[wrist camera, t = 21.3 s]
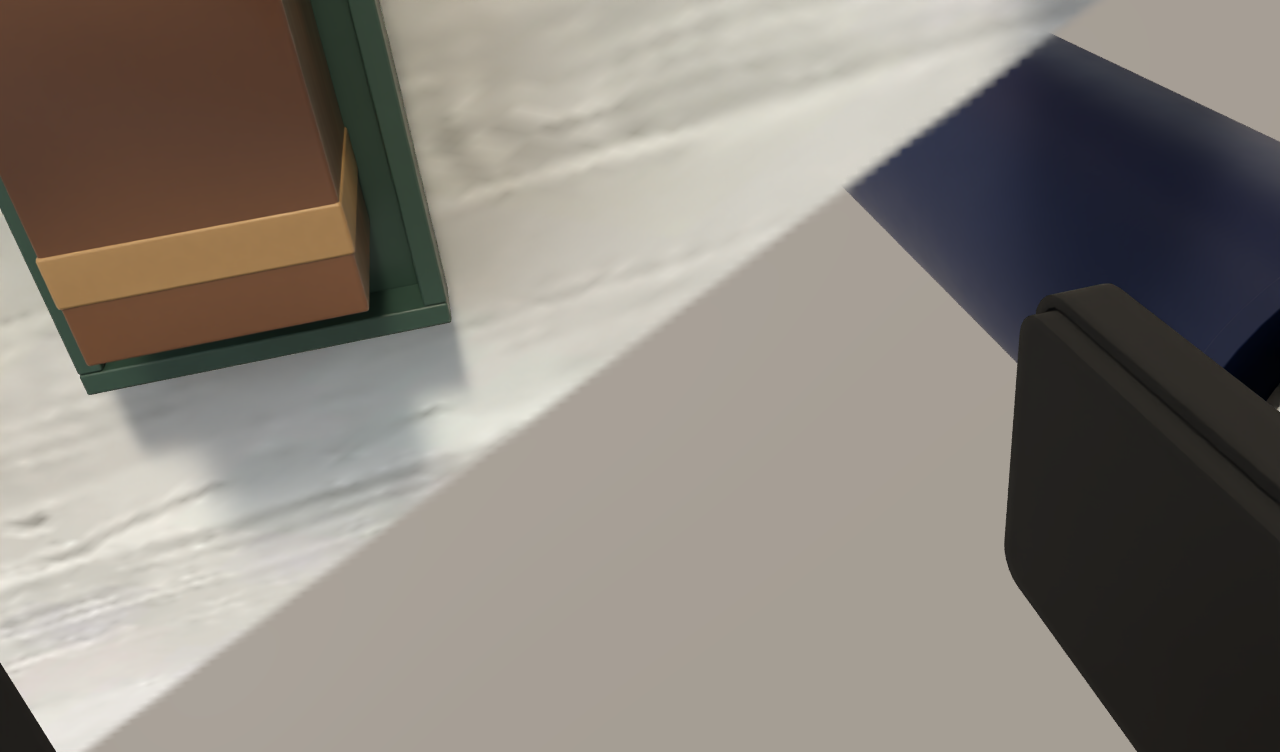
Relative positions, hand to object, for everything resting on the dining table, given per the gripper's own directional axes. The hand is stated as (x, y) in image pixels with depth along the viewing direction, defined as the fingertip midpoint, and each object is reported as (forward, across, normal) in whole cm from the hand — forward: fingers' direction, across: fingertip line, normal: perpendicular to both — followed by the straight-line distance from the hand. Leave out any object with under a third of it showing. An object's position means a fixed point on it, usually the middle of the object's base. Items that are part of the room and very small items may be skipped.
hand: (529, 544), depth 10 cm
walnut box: (+19, +6, -1) cm, 20 cm away
